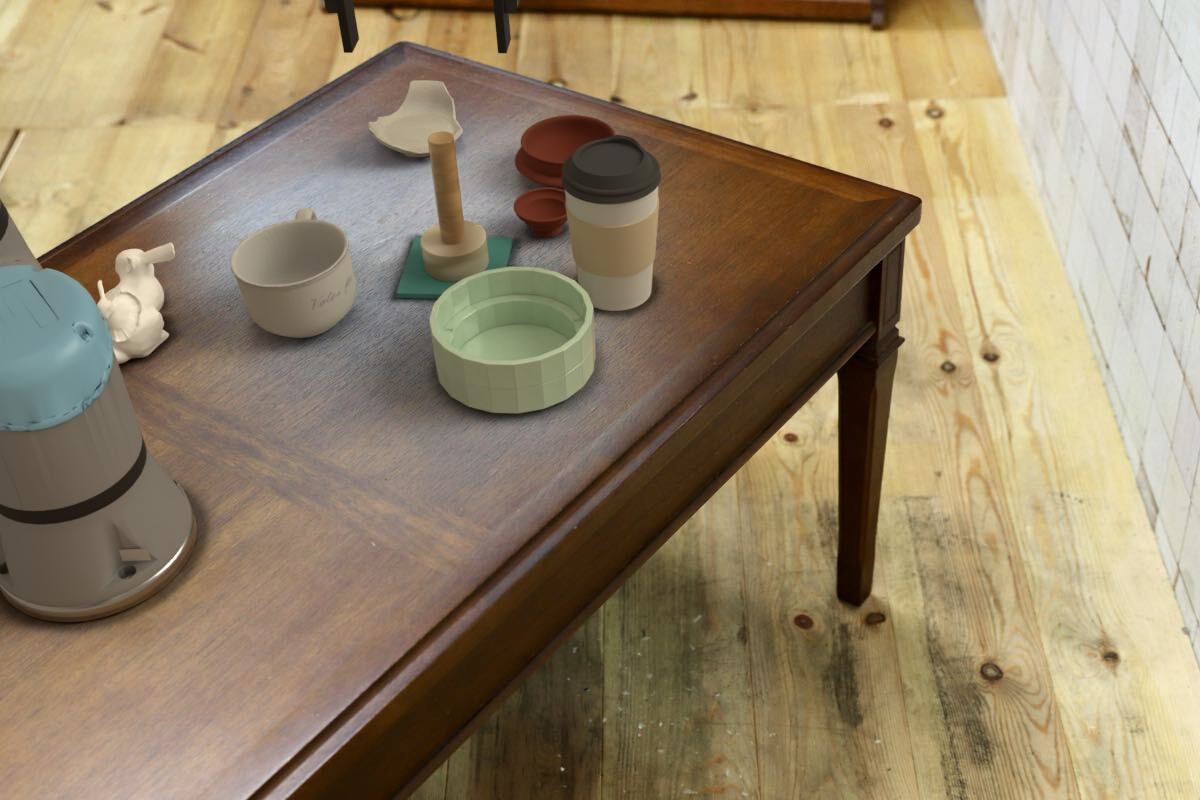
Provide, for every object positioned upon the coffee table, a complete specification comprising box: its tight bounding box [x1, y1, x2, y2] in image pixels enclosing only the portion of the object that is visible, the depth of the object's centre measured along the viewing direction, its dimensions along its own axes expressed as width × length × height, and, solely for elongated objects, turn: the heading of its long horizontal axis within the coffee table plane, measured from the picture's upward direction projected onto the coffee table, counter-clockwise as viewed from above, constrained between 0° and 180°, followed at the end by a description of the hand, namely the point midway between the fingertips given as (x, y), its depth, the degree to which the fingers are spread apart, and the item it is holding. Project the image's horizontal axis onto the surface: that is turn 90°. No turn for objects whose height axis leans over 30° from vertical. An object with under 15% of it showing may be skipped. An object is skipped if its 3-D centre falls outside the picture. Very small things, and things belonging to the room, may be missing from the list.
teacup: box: [229, 207, 358, 339], centre depth 129 cm, size 14×11×8 cm
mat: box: [395, 234, 514, 300], centre depth 136 cm, size 10×10×1 cm
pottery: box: [513, 114, 617, 239], centre depth 144 cm, size 12×20×4 cm, turn 168°
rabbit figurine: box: [96, 242, 176, 365], centre depth 126 cm, size 12×8×10 cm, turn 165°
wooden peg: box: [421, 131, 489, 282], centre depth 131 cm, size 6×6×14 cm
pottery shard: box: [367, 79, 464, 158], centre depth 154 cm, size 10×11×5 cm
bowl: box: [428, 266, 597, 414], centre depth 122 cm, size 14×14×6 cm
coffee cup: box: [561, 134, 662, 312], centre depth 127 cm, size 9×9×15 cm
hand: (427, 46), depth 121 cm, fingers open, 13 cm apart
